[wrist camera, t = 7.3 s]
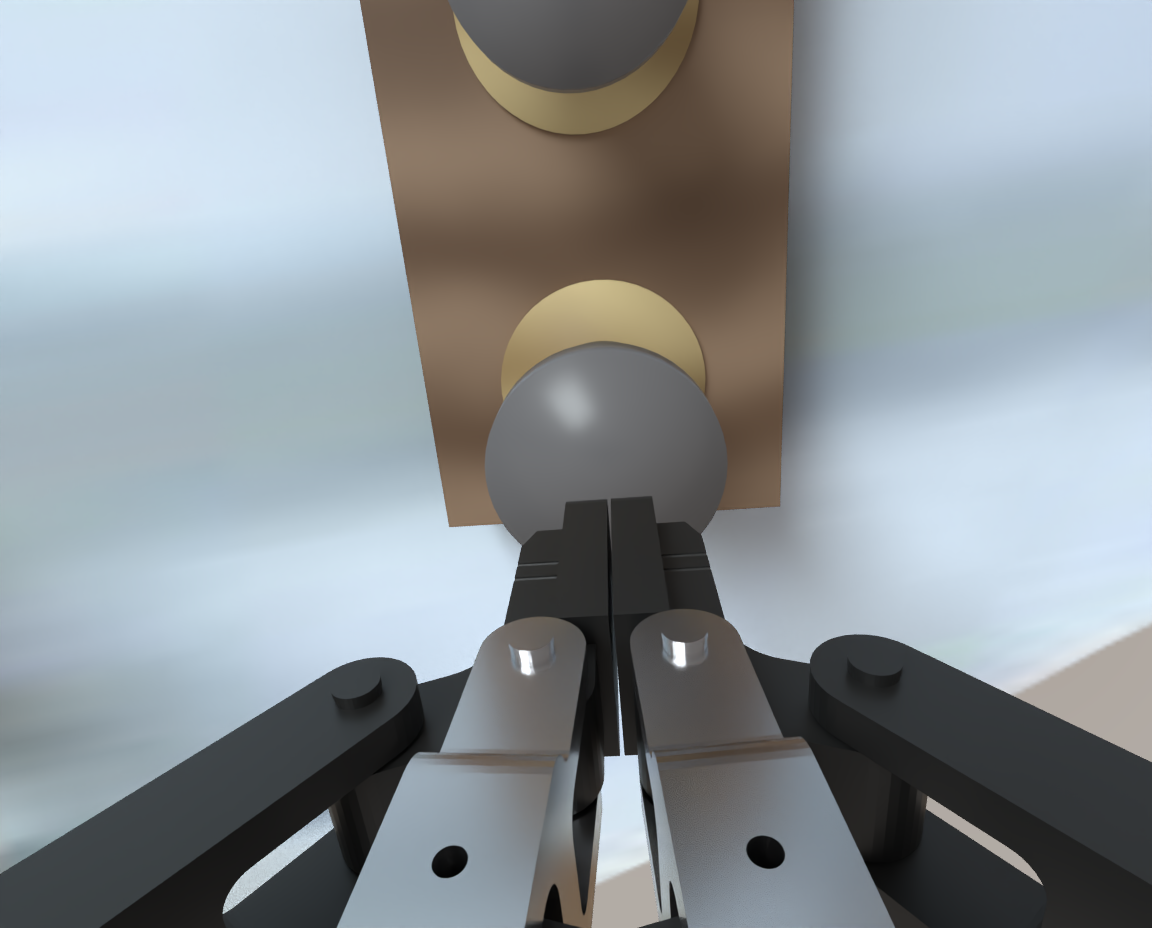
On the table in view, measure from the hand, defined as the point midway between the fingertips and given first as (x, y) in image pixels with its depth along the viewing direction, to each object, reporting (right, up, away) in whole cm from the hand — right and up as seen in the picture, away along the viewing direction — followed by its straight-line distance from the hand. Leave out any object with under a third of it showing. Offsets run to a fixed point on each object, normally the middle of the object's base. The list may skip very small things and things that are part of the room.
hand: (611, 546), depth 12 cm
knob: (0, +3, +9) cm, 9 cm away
